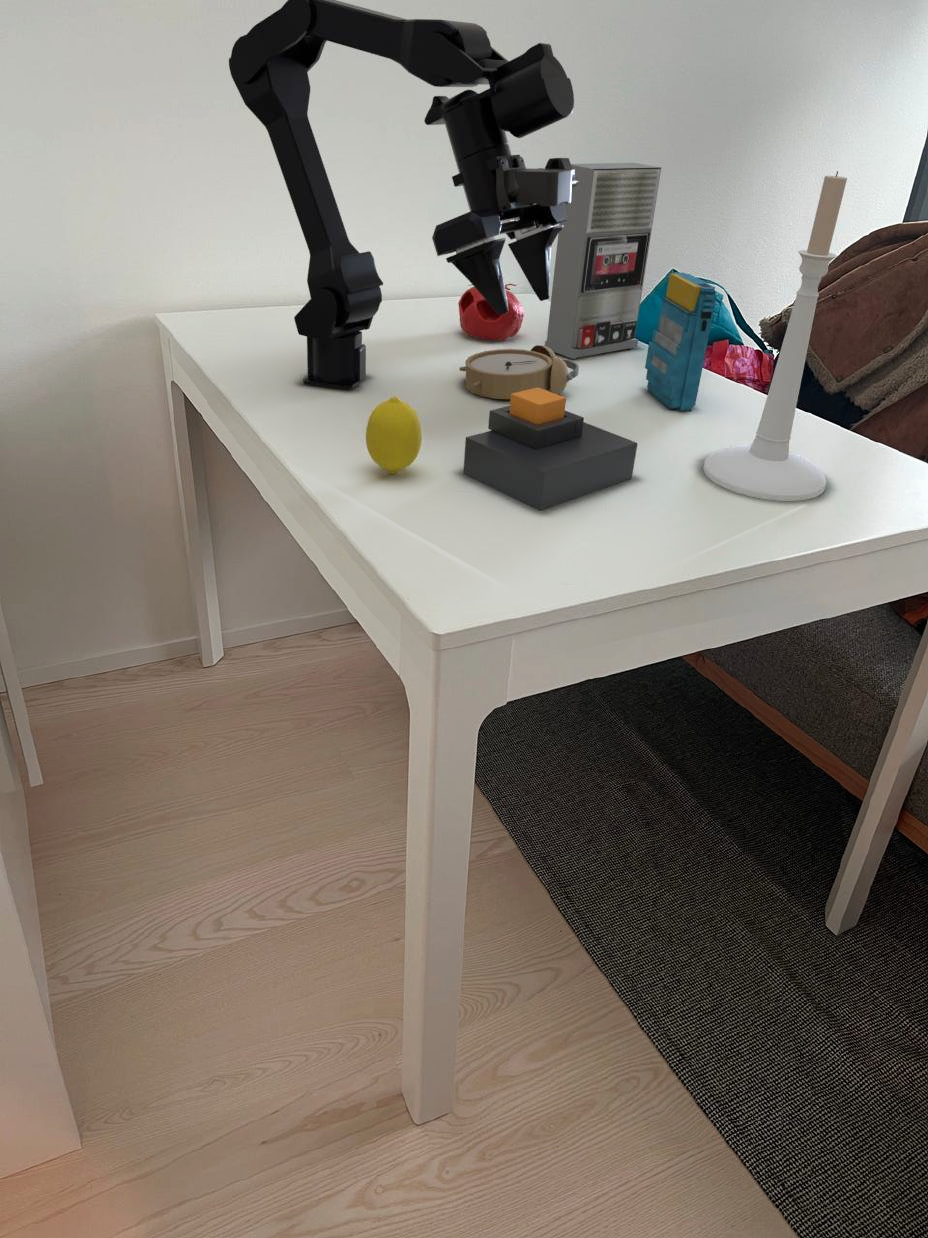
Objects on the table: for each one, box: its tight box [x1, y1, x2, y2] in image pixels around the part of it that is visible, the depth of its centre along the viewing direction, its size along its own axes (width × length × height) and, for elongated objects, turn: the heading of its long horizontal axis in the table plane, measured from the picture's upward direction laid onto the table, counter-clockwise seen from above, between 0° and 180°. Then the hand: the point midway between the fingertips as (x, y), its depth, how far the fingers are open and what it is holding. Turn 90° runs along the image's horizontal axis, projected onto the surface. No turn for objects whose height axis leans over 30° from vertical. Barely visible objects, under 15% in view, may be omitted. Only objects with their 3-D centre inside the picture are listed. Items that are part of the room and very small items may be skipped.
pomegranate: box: [457, 283, 525, 341], centre depth 142 cm, size 10×10×9 cm
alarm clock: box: [459, 344, 580, 400], centre depth 122 cm, size 11×5×15 cm
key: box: [509, 387, 567, 425], centre depth 96 cm, size 4×4×2 cm
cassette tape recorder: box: [544, 162, 662, 360], centre depth 135 cm, size 14×6×25 cm, turn 129°
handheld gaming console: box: [644, 271, 717, 413], centre depth 119 cm, size 10×4×15 cm, turn 12°
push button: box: [462, 405, 638, 512], centre depth 97 cm, size 12×14×6 cm
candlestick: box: [702, 170, 848, 502], centre depth 94 cm, size 13×13×30 cm
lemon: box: [365, 396, 423, 475], centre depth 94 cm, size 6×6×8 cm
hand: (525, 306), depth 102 cm, fingers open, 9 cm apart
